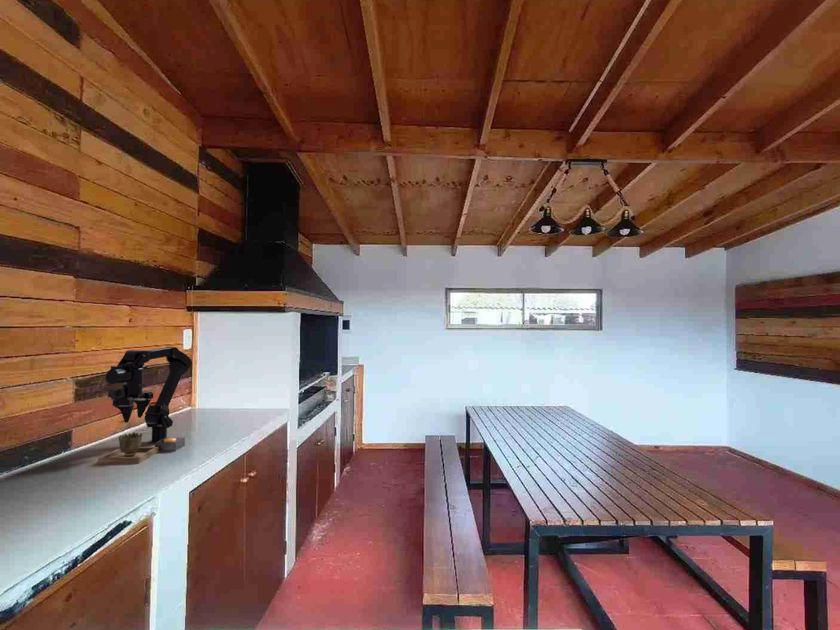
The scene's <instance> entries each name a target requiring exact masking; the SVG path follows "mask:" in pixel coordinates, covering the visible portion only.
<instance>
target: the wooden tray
mask: <svg viewBox="0 0 840 630" xmlns="http://www.w3.org/2000/svg"><path fill="white" fill-rule="evenodd" d="M159 453H160V452H159V447H155V446H140V448H139V449H138V450H137V451H136V454H135V456H133V457H125V456H124V454H125V453H124V452H122V451H121V449H120V447H119V448H117V449H115V450H112V451H111V452H109V453H106V454H104V455H102V456H99V457H98V458H97V464H98V465H121V464H123V465H125V464H126V465H129V464H140V463H142V462H144V461H145V460H147V459H149V458H151V457H153V456H154V455H156V454H159Z"/></svg>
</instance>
